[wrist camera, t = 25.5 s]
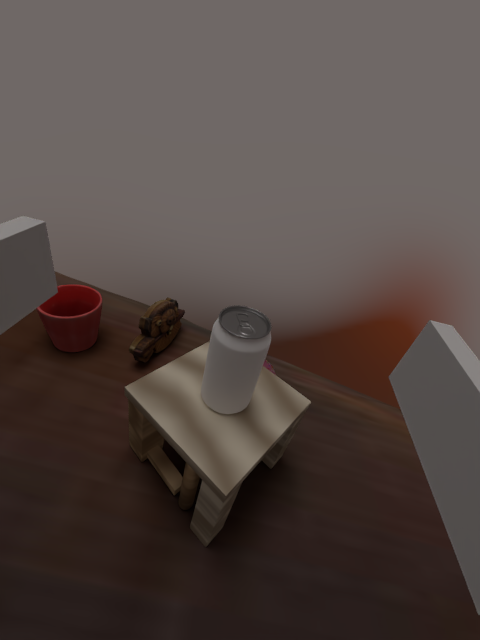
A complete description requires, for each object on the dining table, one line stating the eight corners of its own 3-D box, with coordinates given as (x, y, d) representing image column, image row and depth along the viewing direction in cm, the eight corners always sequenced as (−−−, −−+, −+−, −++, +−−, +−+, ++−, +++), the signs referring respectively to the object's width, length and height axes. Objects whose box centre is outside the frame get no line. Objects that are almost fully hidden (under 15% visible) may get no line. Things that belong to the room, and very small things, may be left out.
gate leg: (200, 499, 40) (214, 452, 33) (179, 518, 38) (188, 471, 31) (150, 431, 46) (152, 380, 39) (129, 444, 44) (128, 392, 37)
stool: (205, 547, 36) (225, 496, 28) (126, 449, 43) (124, 387, 35) (281, 456, 48) (311, 401, 40) (208, 391, 55) (221, 334, 47)
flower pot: (115, 330, 64) (113, 291, 58) (86, 364, 55) (80, 323, 49) (67, 318, 63) (61, 278, 58) (31, 350, 55) (19, 307, 49)
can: (200, 416, 34) (216, 338, 27) (199, 374, 39) (213, 300, 33) (253, 416, 36) (282, 343, 29) (246, 376, 41) (268, 305, 34)
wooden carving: (149, 375, 55) (150, 334, 50) (127, 367, 56) (126, 326, 50) (186, 328, 69) (190, 292, 63) (168, 322, 69) (171, 285, 64)
